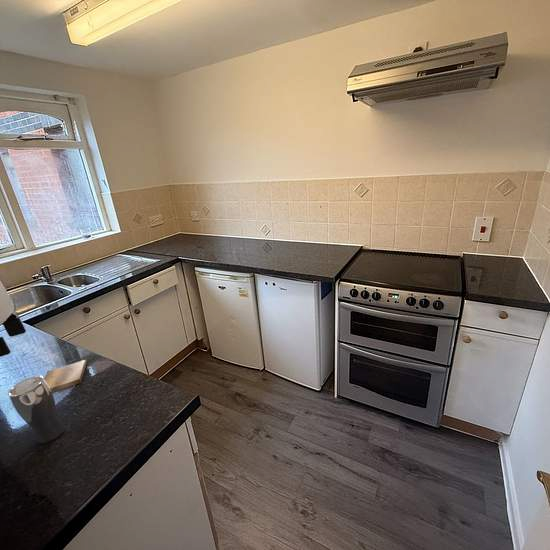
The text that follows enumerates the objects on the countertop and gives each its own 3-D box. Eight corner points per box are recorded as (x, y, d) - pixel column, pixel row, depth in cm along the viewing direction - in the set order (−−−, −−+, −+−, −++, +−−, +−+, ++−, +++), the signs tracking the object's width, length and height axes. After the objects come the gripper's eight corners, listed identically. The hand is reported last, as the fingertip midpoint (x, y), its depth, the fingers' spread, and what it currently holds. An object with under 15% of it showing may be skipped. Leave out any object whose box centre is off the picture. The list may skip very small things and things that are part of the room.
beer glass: (51, 446, 70) (23, 397, 65) (27, 444, 71) (-2, 396, 66) (74, 422, 76) (51, 375, 71) (52, 420, 78) (27, 374, 72)
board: (39, 396, 88) (37, 392, 87) (49, 374, 97) (47, 371, 97) (81, 382, 91) (79, 378, 91) (86, 363, 101) (85, 359, 100)
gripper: (-31, 267, 66) (5, 332, 73) (-81, 292, 51) (-30, 372, 57) (10, 258, 69) (41, 322, 75) (-27, 281, 54) (16, 358, 60)
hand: (10, 344), depth 66 cm, fingers open, 9 cm apart
